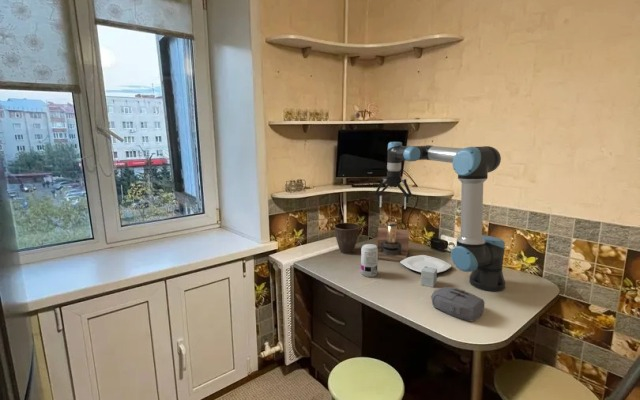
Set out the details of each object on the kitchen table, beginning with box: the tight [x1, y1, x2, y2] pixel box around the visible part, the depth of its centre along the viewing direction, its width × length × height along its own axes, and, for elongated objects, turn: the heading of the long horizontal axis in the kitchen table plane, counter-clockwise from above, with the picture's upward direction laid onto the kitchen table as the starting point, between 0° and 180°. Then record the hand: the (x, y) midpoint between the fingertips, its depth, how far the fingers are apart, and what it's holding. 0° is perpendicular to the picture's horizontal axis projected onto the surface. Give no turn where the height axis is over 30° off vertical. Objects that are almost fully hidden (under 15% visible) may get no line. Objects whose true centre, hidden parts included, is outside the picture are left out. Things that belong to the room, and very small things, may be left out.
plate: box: [399, 254, 452, 274], centre depth 182 cm, size 23×23×2 cm
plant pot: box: [333, 222, 360, 254], centre depth 205 cm, size 15×15×16 cm
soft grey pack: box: [430, 286, 485, 322], centre depth 139 cm, size 15×8×20 cm
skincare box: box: [420, 266, 438, 288], centre depth 162 cm, size 6×6×7 cm
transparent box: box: [377, 227, 410, 263], centre depth 198 cm, size 18×18×14 cm
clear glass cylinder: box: [386, 221, 398, 251], centre depth 198 cm, size 5×5×18 cm
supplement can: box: [360, 243, 379, 278], centre depth 173 cm, size 8×8×15 cm
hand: (392, 207), depth 194 cm, fingers open, 13 cm apart
